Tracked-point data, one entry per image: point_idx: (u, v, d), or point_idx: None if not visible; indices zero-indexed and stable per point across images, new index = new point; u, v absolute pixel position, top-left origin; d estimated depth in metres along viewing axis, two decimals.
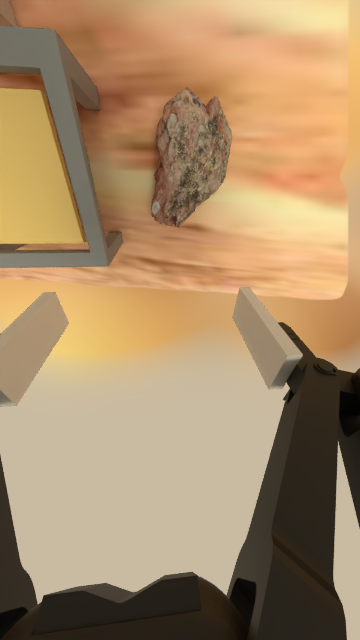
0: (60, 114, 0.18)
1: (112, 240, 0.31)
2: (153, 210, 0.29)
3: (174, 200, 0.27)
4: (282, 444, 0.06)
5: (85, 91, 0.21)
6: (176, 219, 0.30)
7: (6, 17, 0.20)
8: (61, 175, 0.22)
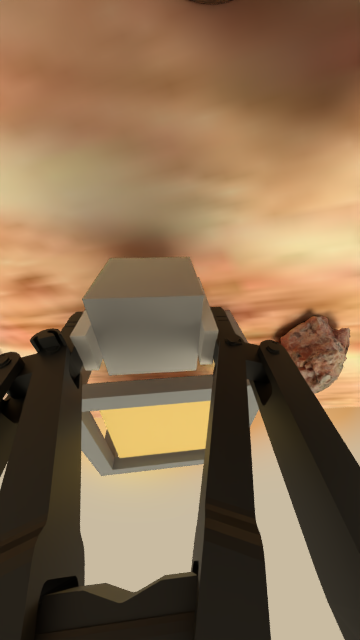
0: None
1: None
2: None
3: None
4: (210, 419, 0.07)
5: None
6: None
7: None
8: None
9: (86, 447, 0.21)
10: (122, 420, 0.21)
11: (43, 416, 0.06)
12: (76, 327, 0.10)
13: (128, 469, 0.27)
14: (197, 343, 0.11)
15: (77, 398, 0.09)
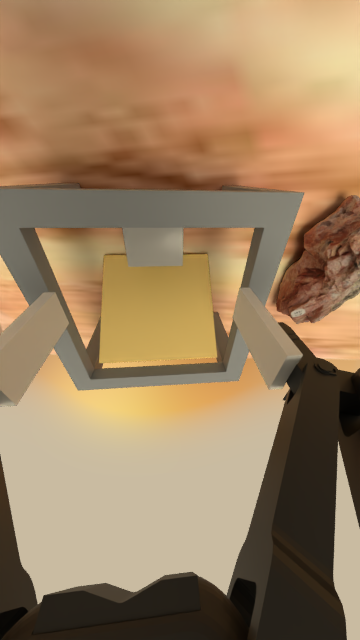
0: (263, 266, 0.14)
1: (225, 336, 0.28)
2: (293, 314, 0.26)
3: (329, 311, 0.24)
4: (282, 444, 0.06)
5: None
6: None
7: (182, 244, 0.20)
8: (209, 298, 0.24)
9: None
10: (118, 282, 0.24)
11: None
12: None
13: (110, 380, 0.22)
14: None
15: None
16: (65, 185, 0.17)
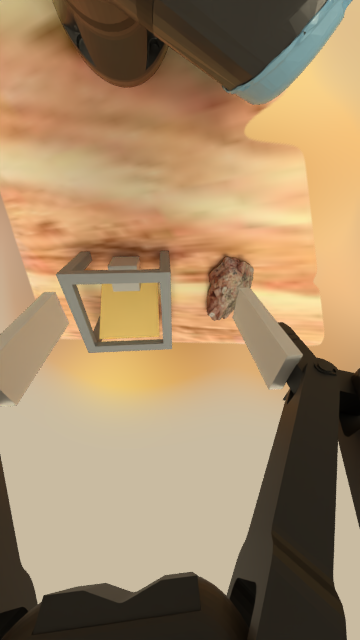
0: (164, 295, 0.36)
1: None
2: (210, 315, 0.49)
3: (224, 313, 0.46)
4: (282, 444, 0.06)
5: None
6: (224, 317, 0.49)
7: None
8: (156, 306, 0.46)
9: (78, 318, 0.38)
10: (109, 298, 0.46)
11: None
12: None
13: (104, 347, 0.44)
14: (137, 261, 0.41)
15: None
16: (84, 257, 0.39)
